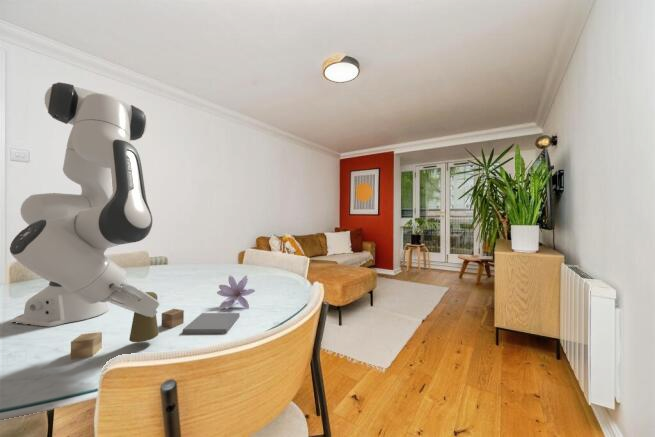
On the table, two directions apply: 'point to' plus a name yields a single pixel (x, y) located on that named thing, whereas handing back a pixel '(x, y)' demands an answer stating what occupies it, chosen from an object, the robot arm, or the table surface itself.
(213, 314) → the coaster
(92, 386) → the table surface
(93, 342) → the oak block
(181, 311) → the walnut block
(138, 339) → the cork
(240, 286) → the water lily
